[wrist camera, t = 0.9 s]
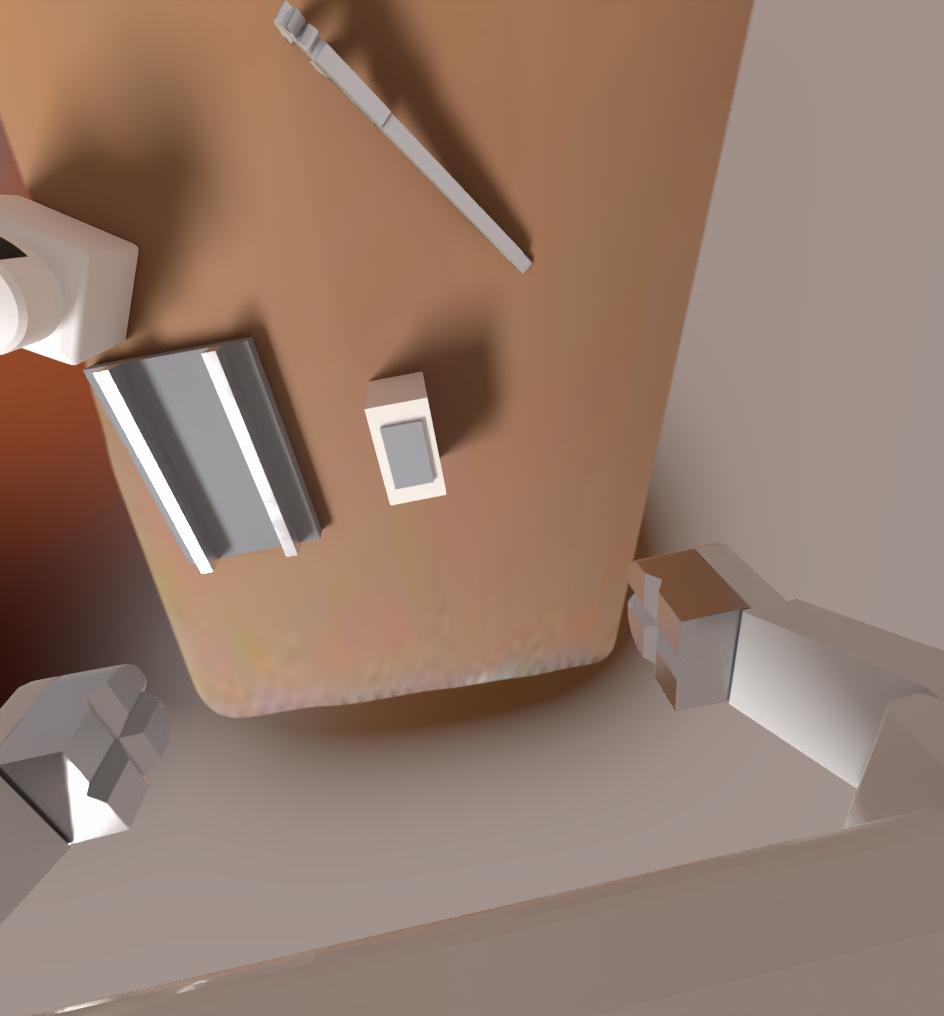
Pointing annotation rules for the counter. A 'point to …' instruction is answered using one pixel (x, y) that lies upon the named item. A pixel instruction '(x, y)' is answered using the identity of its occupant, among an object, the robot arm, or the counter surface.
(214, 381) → the din rail
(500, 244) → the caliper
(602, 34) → the counter surface
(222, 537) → the rail base
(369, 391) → the din module
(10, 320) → the medicine bottle
